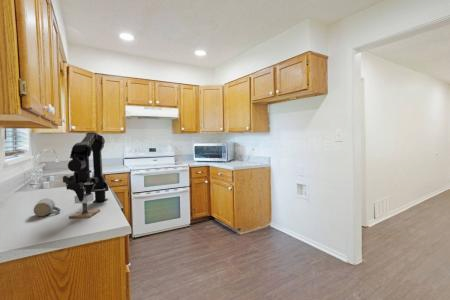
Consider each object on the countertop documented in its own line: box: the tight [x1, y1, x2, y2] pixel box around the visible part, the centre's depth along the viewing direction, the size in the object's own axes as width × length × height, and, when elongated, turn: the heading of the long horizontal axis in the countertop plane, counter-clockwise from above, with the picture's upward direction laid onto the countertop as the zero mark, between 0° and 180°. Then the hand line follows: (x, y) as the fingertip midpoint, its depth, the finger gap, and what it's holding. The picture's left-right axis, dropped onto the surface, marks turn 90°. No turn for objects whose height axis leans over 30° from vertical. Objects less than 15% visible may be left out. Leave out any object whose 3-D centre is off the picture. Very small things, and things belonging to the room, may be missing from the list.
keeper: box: [68, 203, 101, 219], centre depth 118 cm, size 10×10×7 cm
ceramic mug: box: [33, 197, 62, 217], centre depth 120 cm, size 11×8×8 cm
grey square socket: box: [74, 192, 95, 204], centre depth 118 cm, size 6×6×4 cm
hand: (84, 199), depth 118 cm, fingers closed on grey square socket, 6 cm apart
